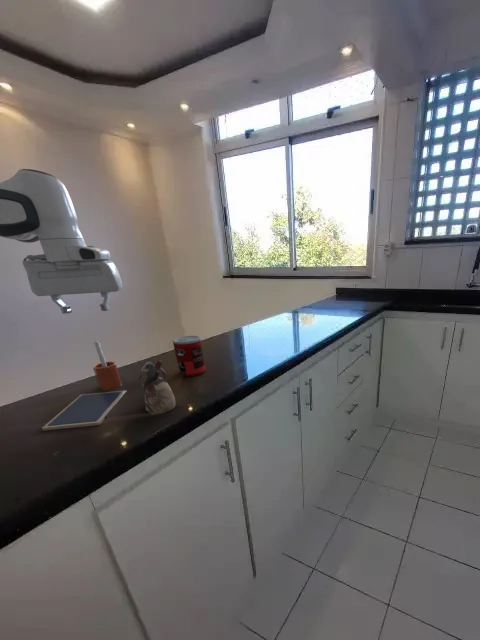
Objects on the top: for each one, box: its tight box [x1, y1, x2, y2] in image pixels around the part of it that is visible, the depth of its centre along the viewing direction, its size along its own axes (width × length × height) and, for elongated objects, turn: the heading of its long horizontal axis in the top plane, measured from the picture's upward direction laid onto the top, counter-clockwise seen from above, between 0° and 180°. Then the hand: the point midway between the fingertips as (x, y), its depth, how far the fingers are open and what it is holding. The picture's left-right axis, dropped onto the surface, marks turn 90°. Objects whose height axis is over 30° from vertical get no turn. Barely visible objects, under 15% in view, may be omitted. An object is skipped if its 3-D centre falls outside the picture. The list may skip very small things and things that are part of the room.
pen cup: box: [92, 361, 123, 391], centre depth 89 cm, size 6×6×7 cm
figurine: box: [138, 360, 177, 416], centre depth 74 cm, size 7×7×12 cm
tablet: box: [41, 390, 127, 431], centre depth 77 cm, size 12×18×1 cm, turn 8°
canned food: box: [172, 335, 206, 378], centre depth 97 cm, size 8×8×11 cm
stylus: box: [94, 340, 107, 367], centre depth 87 cm, size 1×1×13 cm
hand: (86, 311), depth 81 cm, fingers open, 8 cm apart
